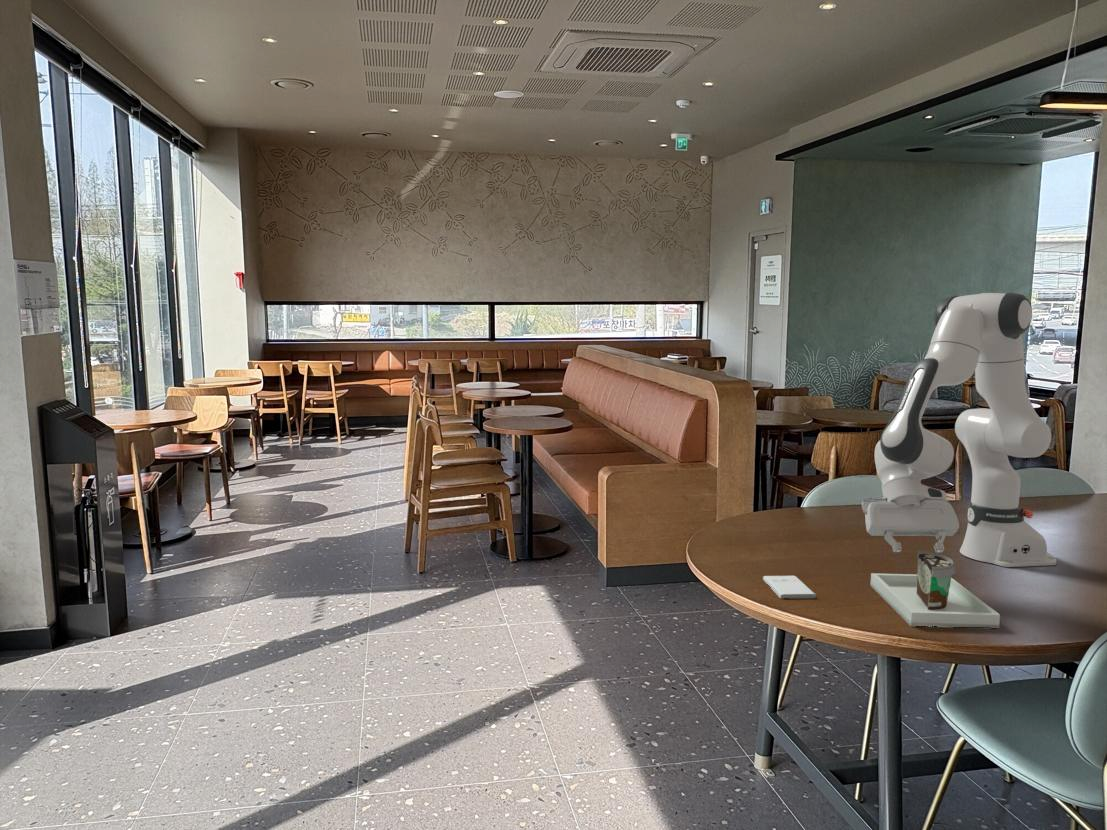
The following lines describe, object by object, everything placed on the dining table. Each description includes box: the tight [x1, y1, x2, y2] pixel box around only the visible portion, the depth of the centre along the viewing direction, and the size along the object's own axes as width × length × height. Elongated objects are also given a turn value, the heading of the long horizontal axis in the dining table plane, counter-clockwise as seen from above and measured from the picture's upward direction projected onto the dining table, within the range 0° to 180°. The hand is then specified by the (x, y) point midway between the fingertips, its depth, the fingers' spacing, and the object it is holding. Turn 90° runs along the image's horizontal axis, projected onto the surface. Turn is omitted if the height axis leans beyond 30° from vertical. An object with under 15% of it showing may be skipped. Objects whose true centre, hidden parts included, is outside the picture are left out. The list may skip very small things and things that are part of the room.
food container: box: [916, 550, 956, 610], centre depth 177 cm, size 12×6×10 cm, turn 170°
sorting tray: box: [870, 572, 1001, 629], centre depth 178 cm, size 18×24×3 cm
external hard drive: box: [762, 575, 817, 599], centre depth 187 cm, size 2×8×12 cm
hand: (918, 551), depth 181 cm, fingers open, 8 cm apart
